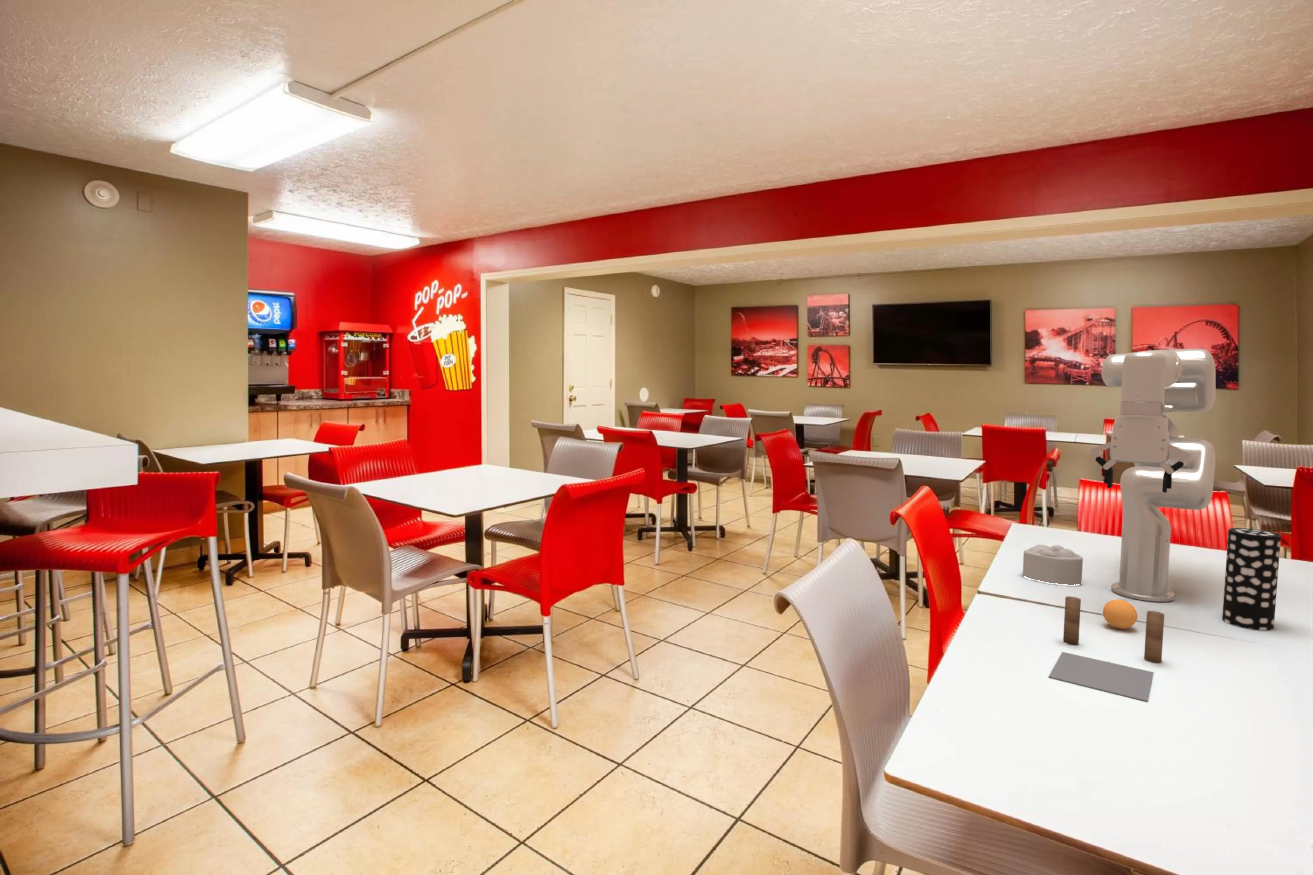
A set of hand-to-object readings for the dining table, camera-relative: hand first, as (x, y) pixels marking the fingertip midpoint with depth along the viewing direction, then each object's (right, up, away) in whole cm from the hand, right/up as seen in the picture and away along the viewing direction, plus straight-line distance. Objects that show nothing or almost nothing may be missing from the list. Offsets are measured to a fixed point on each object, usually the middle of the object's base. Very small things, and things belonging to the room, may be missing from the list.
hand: (1136, 489), depth 142 cm
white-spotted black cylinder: (+24, -29, 0) cm, 38 cm away
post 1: (-21, -30, -11) cm, 38 cm away
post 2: (-11, -30, -19) cm, 38 cm away
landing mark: (-25, -31, -26) cm, 47 cm away
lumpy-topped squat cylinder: (+1, -27, +32) cm, 42 cm away
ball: (-6, -26, -3) cm, 27 cm away
